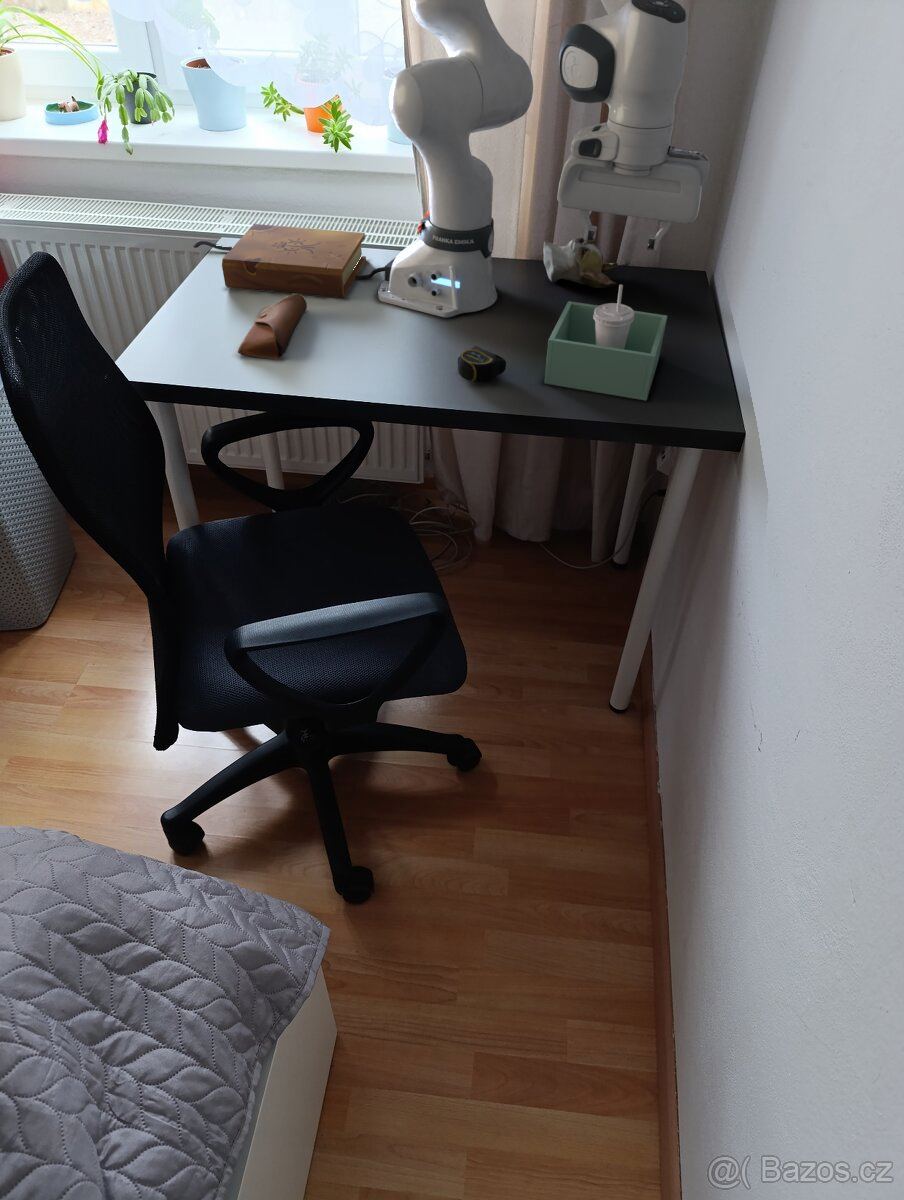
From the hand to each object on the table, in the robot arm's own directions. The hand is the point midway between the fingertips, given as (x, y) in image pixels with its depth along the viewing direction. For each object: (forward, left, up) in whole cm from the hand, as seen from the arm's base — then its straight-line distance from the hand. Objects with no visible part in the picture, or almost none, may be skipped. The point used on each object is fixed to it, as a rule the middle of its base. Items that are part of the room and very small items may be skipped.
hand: (620, 244), depth 124 cm
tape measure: (-19, -8, -21) cm, 29 cm away
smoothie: (+1, 0, -20) cm, 20 cm away
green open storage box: (0, 0, -21) cm, 21 cm away
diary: (-64, +18, -21) cm, 70 cm away
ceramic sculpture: (-11, +33, -21) cm, 40 cm away
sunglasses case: (-57, -6, -21) cm, 61 cm away
